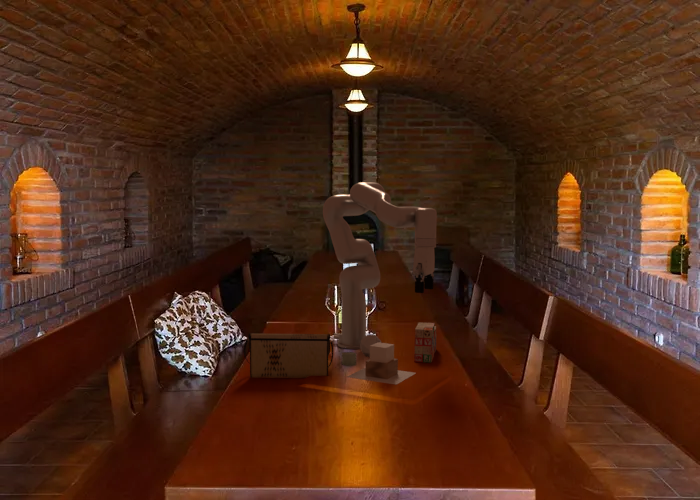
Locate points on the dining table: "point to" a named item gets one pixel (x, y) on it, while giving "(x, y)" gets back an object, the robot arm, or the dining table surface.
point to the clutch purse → (288, 355)
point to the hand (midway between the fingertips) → (424, 290)
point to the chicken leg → (368, 344)
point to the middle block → (382, 352)
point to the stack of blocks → (425, 342)
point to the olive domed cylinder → (348, 358)
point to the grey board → (393, 380)
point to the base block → (381, 369)
